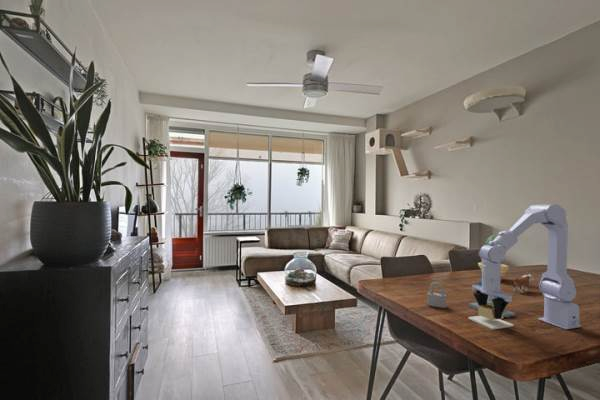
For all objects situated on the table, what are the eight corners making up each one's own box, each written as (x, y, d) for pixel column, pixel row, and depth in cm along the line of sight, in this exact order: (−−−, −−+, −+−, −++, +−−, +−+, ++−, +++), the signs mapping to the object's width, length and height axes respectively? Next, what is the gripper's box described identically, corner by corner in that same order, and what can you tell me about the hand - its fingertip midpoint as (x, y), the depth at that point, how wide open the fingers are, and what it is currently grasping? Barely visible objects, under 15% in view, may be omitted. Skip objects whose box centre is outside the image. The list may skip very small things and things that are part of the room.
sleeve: (503, 318, 110) (503, 308, 110) (491, 320, 108) (491, 310, 108) (489, 313, 115) (489, 303, 115) (478, 314, 113) (478, 305, 113)
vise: (521, 315, 119) (521, 294, 119) (499, 318, 115) (499, 296, 115) (489, 303, 132) (489, 284, 132) (468, 306, 129) (468, 286, 129)
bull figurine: (536, 291, 153) (536, 274, 153) (518, 293, 148) (518, 276, 148) (526, 288, 157) (527, 272, 157) (509, 291, 152) (509, 274, 152)
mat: (513, 326, 108) (513, 324, 108) (492, 329, 105) (492, 327, 105) (488, 316, 118) (488, 314, 118) (468, 318, 115) (468, 317, 115)
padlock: (445, 305, 129) (446, 282, 129) (445, 308, 125) (446, 284, 125) (427, 303, 132) (428, 280, 132) (427, 305, 128) (427, 282, 128)
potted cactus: (513, 283, 168) (514, 237, 168) (482, 280, 171) (483, 236, 171) (502, 276, 183) (502, 234, 183) (473, 274, 186) (474, 233, 186)
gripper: (466, 274, 117) (465, 309, 117) (501, 284, 103) (500, 324, 103) (480, 273, 119) (479, 307, 119) (516, 282, 105) (516, 322, 105)
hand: (490, 315), depth 111 cm, fingers closed on sleeve, 5 cm apart
